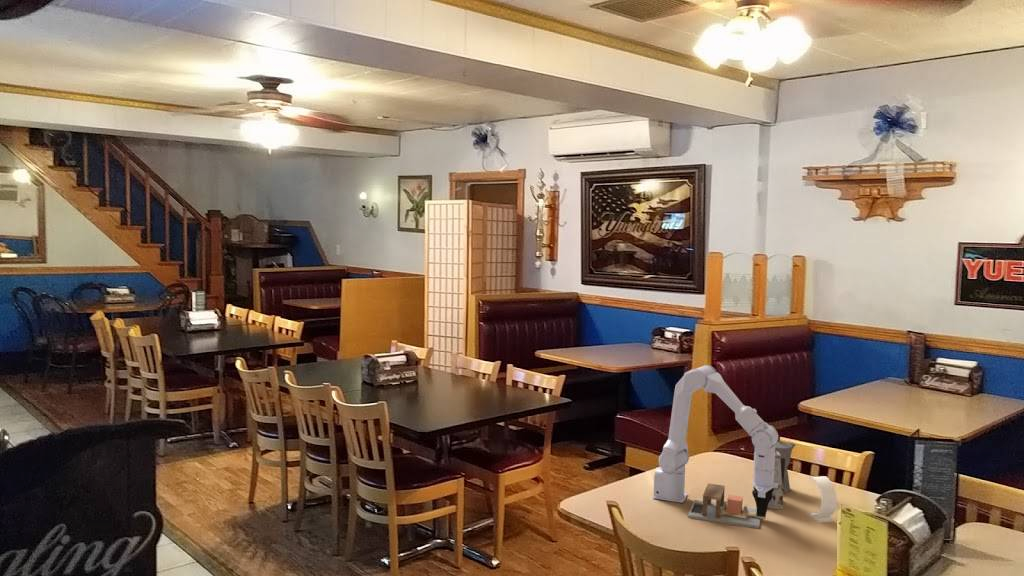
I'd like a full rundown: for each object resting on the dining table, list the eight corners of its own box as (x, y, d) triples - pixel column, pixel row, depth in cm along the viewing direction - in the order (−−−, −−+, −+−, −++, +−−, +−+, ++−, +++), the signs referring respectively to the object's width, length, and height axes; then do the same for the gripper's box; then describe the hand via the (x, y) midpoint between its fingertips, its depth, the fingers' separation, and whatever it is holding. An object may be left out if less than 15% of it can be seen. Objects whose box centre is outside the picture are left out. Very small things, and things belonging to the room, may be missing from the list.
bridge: (702, 515, 221) (703, 495, 220) (707, 502, 231) (707, 483, 230) (719, 518, 219) (720, 497, 218) (723, 505, 229) (724, 485, 229)
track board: (687, 517, 221) (688, 514, 221) (694, 502, 234) (694, 499, 233) (758, 528, 214) (759, 525, 214) (761, 512, 226) (761, 509, 226)
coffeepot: (785, 482, 252) (787, 430, 251) (801, 492, 243) (804, 438, 242) (743, 485, 249) (745, 432, 247) (758, 495, 240) (761, 440, 238)
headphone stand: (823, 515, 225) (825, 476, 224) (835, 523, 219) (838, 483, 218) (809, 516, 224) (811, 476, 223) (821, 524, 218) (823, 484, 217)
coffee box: (783, 510, 228) (785, 458, 227) (761, 508, 229) (763, 456, 228) (778, 499, 237) (781, 449, 236) (757, 497, 238) (759, 447, 237)
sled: (720, 514, 221) (721, 500, 221) (723, 507, 227) (723, 493, 226) (765, 521, 217) (765, 506, 216) (766, 513, 222) (766, 499, 222)
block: (726, 512, 222) (727, 499, 221) (728, 507, 225) (728, 494, 225) (740, 514, 220) (741, 501, 220) (742, 509, 224) (742, 496, 223)
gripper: (777, 477, 210) (775, 524, 212) (779, 462, 224) (777, 506, 225) (751, 474, 213) (749, 520, 214) (754, 459, 226) (752, 503, 228)
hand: (762, 513), depth 220 cm, fingers closed on sled, 2 cm apart
